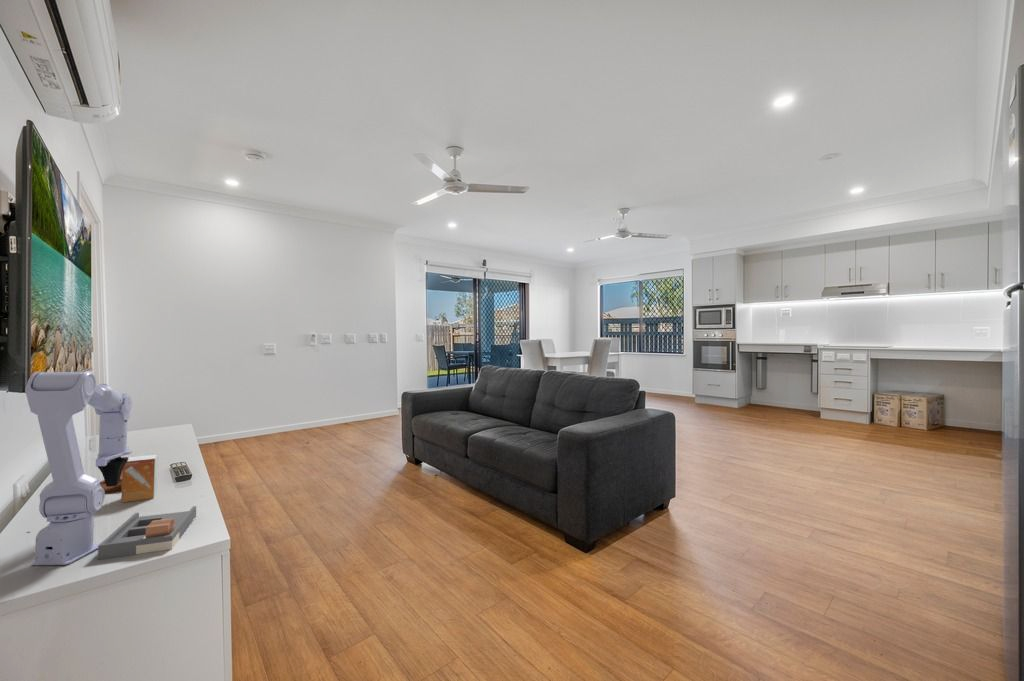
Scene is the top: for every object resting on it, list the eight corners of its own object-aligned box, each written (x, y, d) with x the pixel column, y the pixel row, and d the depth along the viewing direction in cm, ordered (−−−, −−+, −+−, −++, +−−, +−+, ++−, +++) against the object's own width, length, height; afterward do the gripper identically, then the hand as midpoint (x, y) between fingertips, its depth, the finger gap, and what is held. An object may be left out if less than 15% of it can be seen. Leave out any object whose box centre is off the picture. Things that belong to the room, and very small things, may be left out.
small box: (120, 503, 135) (121, 461, 135) (124, 497, 140) (125, 457, 141) (154, 498, 140) (155, 458, 140) (157, 492, 145) (157, 453, 145)
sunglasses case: (97, 482, 154) (111, 464, 157) (120, 488, 158) (133, 471, 161) (94, 496, 141) (109, 476, 143) (119, 502, 145) (133, 483, 147)
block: (168, 539, 107) (168, 524, 107) (145, 542, 105) (145, 527, 105) (174, 531, 111) (174, 518, 111) (152, 534, 109) (152, 520, 109)
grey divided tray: (172, 549, 106) (172, 535, 106) (97, 559, 100) (98, 545, 100) (196, 517, 125) (196, 506, 125) (135, 524, 120) (135, 512, 120)
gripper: (120, 441, 116) (119, 492, 115) (141, 430, 129) (140, 476, 129) (85, 443, 113) (84, 495, 113) (111, 432, 126) (110, 479, 126)
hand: (112, 485), depth 121 cm, fingers closed
